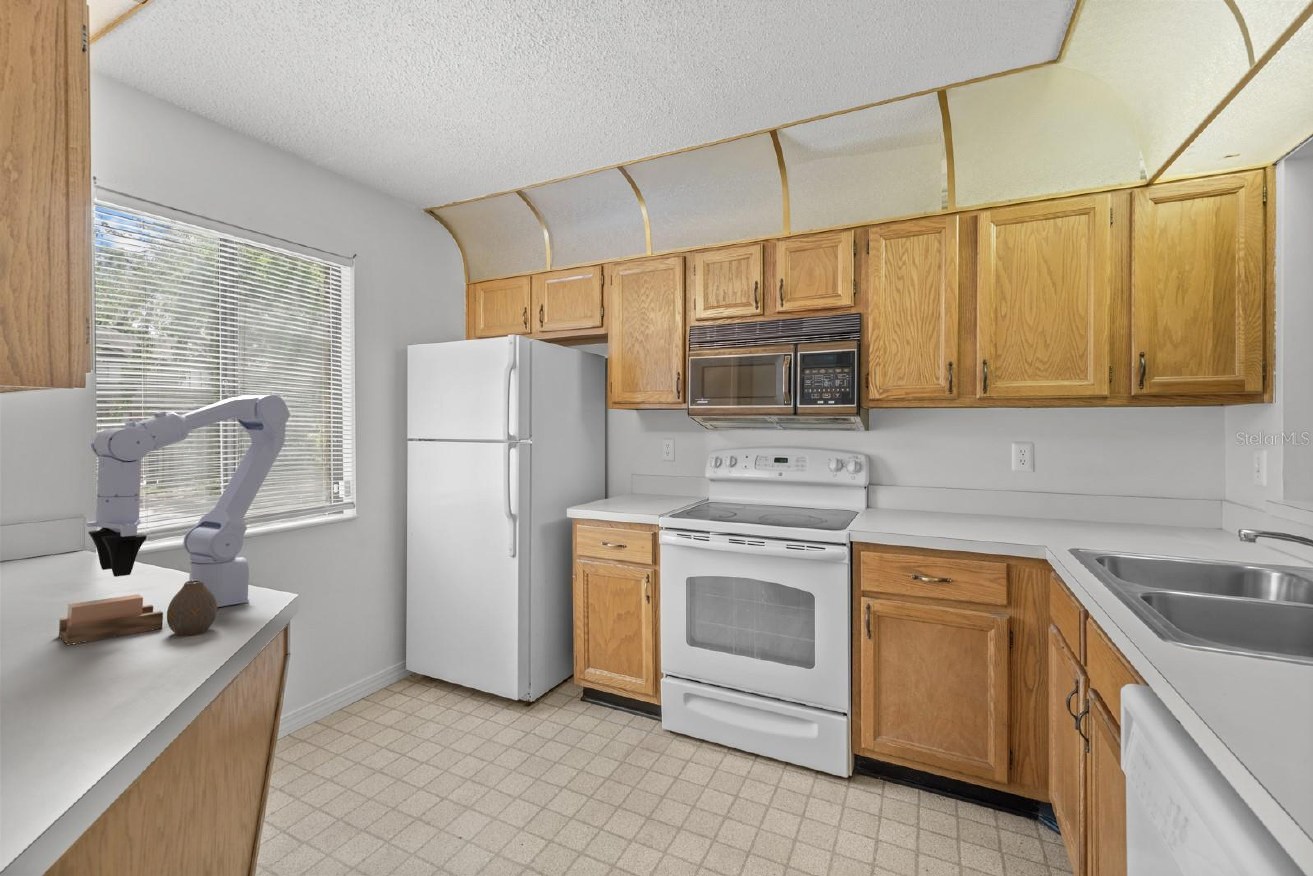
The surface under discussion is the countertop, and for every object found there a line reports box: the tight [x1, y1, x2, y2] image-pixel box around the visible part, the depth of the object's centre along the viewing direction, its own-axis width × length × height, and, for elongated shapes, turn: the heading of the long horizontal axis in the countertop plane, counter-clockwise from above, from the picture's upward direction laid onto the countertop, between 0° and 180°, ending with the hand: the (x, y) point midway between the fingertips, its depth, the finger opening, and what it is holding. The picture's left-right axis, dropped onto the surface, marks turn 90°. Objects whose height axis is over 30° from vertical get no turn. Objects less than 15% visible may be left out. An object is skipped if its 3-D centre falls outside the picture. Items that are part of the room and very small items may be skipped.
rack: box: [58, 604, 164, 645], centre depth 102 cm, size 12×7×3 cm, turn 143°
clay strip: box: [66, 594, 144, 626], centre depth 102 cm, size 9×3×4 cm, turn 143°
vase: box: [166, 580, 218, 636], centre depth 104 cm, size 7×7×9 cm
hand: (115, 572), depth 106 cm, fingers open, 7 cm apart
